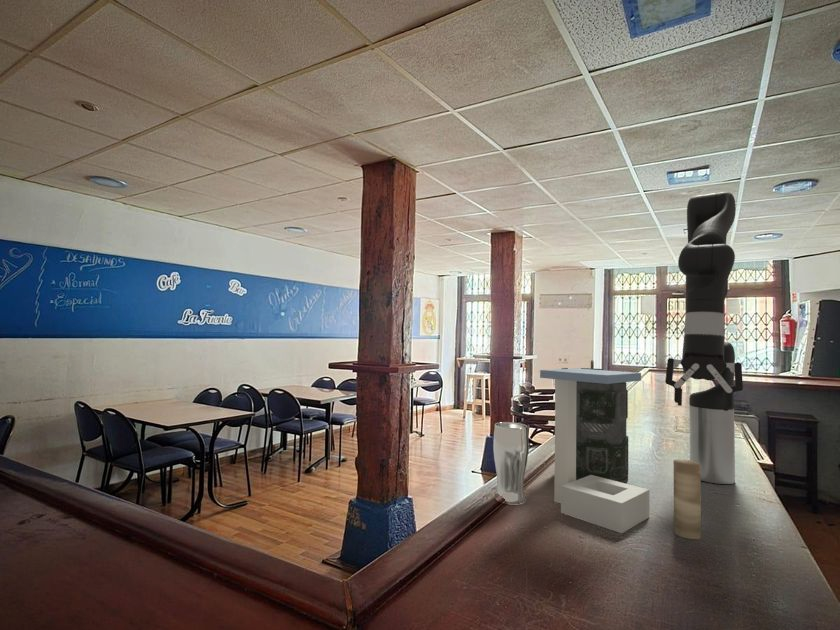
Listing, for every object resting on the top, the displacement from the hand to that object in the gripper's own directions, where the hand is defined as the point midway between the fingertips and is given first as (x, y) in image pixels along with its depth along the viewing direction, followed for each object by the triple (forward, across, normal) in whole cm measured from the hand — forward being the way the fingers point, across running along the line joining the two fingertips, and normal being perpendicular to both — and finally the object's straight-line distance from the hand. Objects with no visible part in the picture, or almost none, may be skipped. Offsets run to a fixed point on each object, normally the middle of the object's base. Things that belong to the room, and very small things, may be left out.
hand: (702, 408), depth 99 cm
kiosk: (+20, +16, +24) cm, 35 cm away
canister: (+20, +22, +3) cm, 29 cm away
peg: (+20, +1, +25) cm, 32 cm away
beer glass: (+21, +32, +28) cm, 47 cm away
